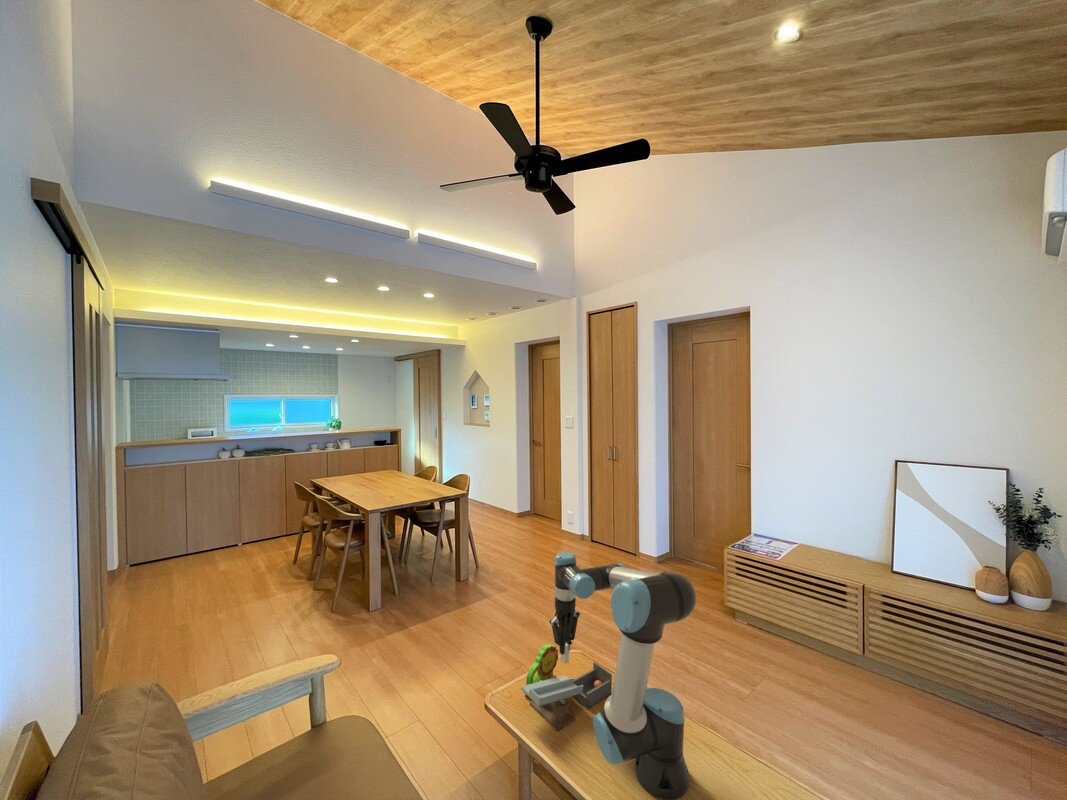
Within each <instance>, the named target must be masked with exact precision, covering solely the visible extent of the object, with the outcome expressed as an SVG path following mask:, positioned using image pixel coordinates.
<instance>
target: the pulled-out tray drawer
mask: <svg viewBox="0 0 1067 800" xmlns="http://www.w3.org/2000/svg"><path fill="white" fill-rule="evenodd" d="M592 667H593V668H592V669H591V670H589V671H587V672H585V673H582V674H581V675H580V676H577V677H576V678H574V681H573V683H574V684H575V685H576V686H580V685H583V692H582V693H580V694H577V695H574V696H571V697H573V699H575V701H577V702H578V703H579V704H581V705H582V706H583V707H584V708H585V709H587V710H589V709H592V707H594V706H596V705H598V704H599V703H600V702H601V703H602V701H604V700H605V699H606V700H607V698H608V697H609V696H611V695H612V691H613V684H612V683H613V675H612V672H611V671H609V670H607V669H606V668H605V667H603V666H602V665H600V664H599V663H597V661H594V662H593V666H592ZM597 680H599V681H601V682H602V684H601V685H599V686H597V687H596V688H594V682H595V681H597Z"/></svg>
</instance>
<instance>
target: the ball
mask: <svg viewBox="0 0 1067 800" xmlns="http://www.w3.org/2000/svg"><path fill="white" fill-rule="evenodd" d="M601 684H602V682H601V681H599V680H597V681H595V682H594V688H596V687H597V686H599V685H601Z"/></svg>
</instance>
